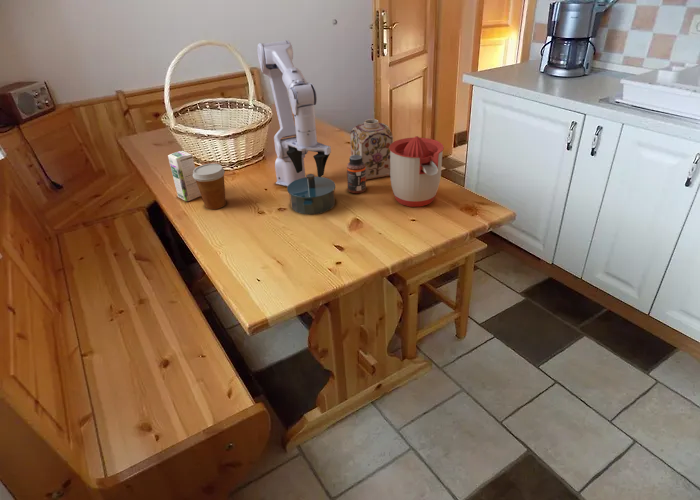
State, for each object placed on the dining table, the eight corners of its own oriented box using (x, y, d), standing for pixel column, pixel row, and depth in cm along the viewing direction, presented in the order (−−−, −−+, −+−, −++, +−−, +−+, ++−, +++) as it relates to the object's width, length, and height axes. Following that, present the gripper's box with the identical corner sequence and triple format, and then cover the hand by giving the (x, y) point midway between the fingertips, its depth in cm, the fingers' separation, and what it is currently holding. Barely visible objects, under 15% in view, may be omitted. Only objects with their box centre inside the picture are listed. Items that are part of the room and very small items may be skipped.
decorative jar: (381, 163, 171) (381, 113, 161) (394, 175, 161) (394, 123, 152) (350, 168, 168) (348, 118, 158) (361, 181, 158) (359, 128, 149)
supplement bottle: (364, 194, 150) (363, 161, 144) (346, 193, 151) (344, 160, 145) (367, 186, 155) (366, 153, 149) (349, 185, 156) (348, 153, 150)
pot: (285, 219, 139) (283, 202, 136) (296, 190, 155) (294, 175, 152) (331, 218, 138) (330, 202, 135) (337, 190, 154) (336, 174, 151)
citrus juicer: (407, 218, 136) (409, 152, 125) (380, 194, 149) (379, 133, 139) (453, 206, 141) (459, 141, 130) (423, 184, 154) (426, 124, 144)
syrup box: (177, 197, 154) (166, 155, 146) (193, 191, 158) (183, 149, 150) (186, 202, 151) (175, 159, 143) (202, 195, 154) (192, 153, 147)
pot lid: (283, 200, 138) (281, 186, 135) (291, 180, 150) (290, 166, 148) (333, 200, 137) (332, 185, 134) (337, 179, 149) (336, 165, 147)
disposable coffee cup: (193, 209, 146) (184, 173, 140) (212, 196, 154) (204, 161, 147) (219, 213, 143) (211, 177, 137) (236, 200, 151) (230, 164, 144)
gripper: (276, 130, 133) (282, 174, 141) (320, 136, 127) (323, 182, 135) (290, 122, 139) (295, 166, 146) (333, 128, 132) (336, 173, 140)
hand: (310, 173), depth 141 cm, fingers open, 7 cm apart
